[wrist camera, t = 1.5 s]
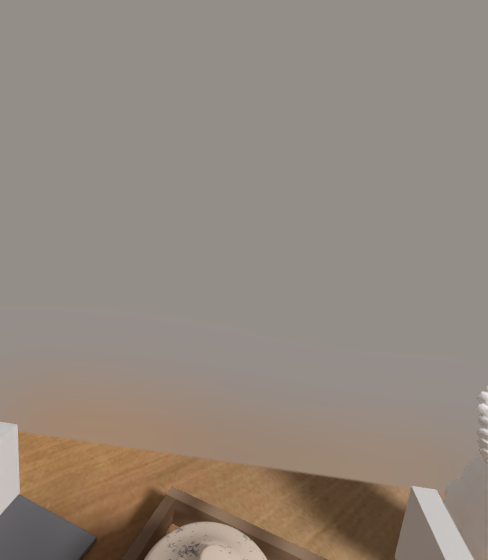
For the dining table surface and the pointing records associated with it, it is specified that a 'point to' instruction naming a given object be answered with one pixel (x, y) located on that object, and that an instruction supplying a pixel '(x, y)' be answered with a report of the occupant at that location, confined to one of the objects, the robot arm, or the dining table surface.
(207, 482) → the dining table surface
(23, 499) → the charcoal mat
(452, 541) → the robot arm
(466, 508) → the cherub figurine
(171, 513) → the walnut box
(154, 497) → the dining table surface
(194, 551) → the teacup with lid
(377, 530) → the dining table surface
